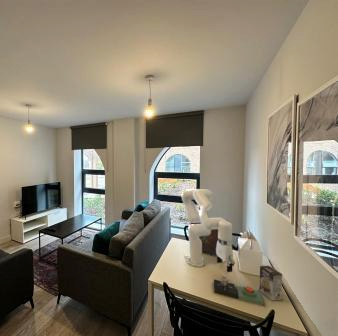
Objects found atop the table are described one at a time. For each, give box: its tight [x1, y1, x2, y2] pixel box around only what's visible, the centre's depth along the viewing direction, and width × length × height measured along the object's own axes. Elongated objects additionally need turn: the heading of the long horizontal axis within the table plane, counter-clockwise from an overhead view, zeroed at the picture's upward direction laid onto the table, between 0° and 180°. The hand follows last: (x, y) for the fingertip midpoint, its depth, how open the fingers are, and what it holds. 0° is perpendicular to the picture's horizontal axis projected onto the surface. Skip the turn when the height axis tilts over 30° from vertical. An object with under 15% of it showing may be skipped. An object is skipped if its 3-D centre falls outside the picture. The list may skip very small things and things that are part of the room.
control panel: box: [213, 279, 238, 299], centre depth 120 cm, size 12×10×3 cm
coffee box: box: [259, 265, 283, 301], centre depth 115 cm, size 9×6×16 cm
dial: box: [220, 275, 229, 288], centre depth 120 cm, size 4×4×5 cm
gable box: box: [237, 227, 263, 277], centre depth 145 cm, size 22×13×28 cm, turn 149°
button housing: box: [235, 285, 265, 306], centre depth 115 cm, size 12×10×4 cm
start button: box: [244, 285, 254, 293], centre depth 114 cm, size 4×4×2 cm
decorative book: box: [189, 222, 218, 258], centre depth 168 cm, size 23×7×30 cm, turn 62°
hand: (224, 267), depth 120 cm, fingers open, 9 cm apart
